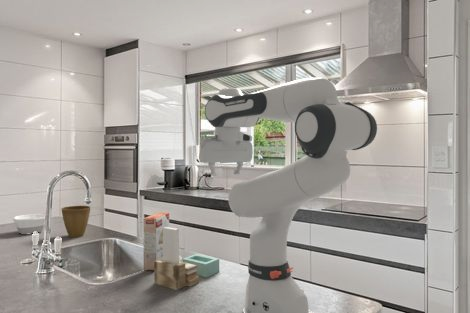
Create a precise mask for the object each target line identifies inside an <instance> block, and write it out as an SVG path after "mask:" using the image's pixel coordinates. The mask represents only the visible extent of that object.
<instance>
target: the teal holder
mask: <svg viewBox="0 0 470 313" xmlns="http://www.w3.org/2000/svg"><path fill="white" fill-rule="evenodd" d="M182 262H185V263H189V264H193V265H197V271H196V274H197V276H199V277H202V278H208V277H210V276H213V275H214V274H217V273H219V272H220V258H216V257H212V256H207V255H203V254H200V253H195V254H193V255H190V256H187V257H184V258H182Z"/></svg>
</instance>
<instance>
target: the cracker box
mask: <svg viewBox="0 0 470 313" xmlns="http://www.w3.org/2000/svg"><path fill="white" fill-rule="evenodd" d="M164 227H170V213H169V212H156V213H153V214H151V215H149V216H146V217H144V218H143V270H144V271H145V270H146V271H154V261H156V260H159V259H162V258H163V228H164Z"/></svg>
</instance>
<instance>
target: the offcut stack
mask: <svg viewBox="0 0 470 313" xmlns="http://www.w3.org/2000/svg"><path fill="white" fill-rule="evenodd" d="M180 263H185V262H183V261H180V260H179V264H180ZM196 271H197V265H193V264H189V263H185V276H186V286H187V287H192V286H194V285H196V284H198V283H200V276H198V275H197V274H196Z"/></svg>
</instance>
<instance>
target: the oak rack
mask: <svg viewBox="0 0 470 313" xmlns="http://www.w3.org/2000/svg"><path fill="white" fill-rule="evenodd" d="M153 272H154V275H153V276H154V284H156V285H159V286H162V287H166V288H170V289H172V290H176V291H178V290H179V289H182V288H184V287H186V286H187V285H186V276H185V263H180V264H177V265H175V264H171V263H167V262H163V258H162V259H159V260H156V261H154V270H153Z"/></svg>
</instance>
